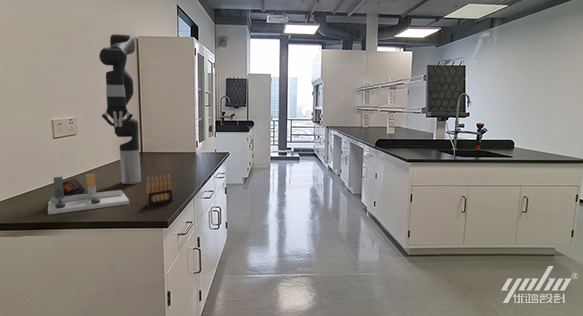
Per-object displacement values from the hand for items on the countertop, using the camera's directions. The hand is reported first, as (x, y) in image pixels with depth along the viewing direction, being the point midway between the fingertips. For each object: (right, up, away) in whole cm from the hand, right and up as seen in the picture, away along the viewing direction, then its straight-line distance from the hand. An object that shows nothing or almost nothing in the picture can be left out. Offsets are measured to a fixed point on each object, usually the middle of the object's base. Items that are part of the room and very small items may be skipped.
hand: (118, 135), depth 163 cm
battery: (-21, -27, +2) cm, 35 cm away
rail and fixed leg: (-6, -28, -13) cm, 31 cm away
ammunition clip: (+22, -29, -10) cm, 38 cm away
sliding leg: (-5, -26, -12) cm, 29 cm away
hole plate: (-6, -29, -13) cm, 32 cm away
